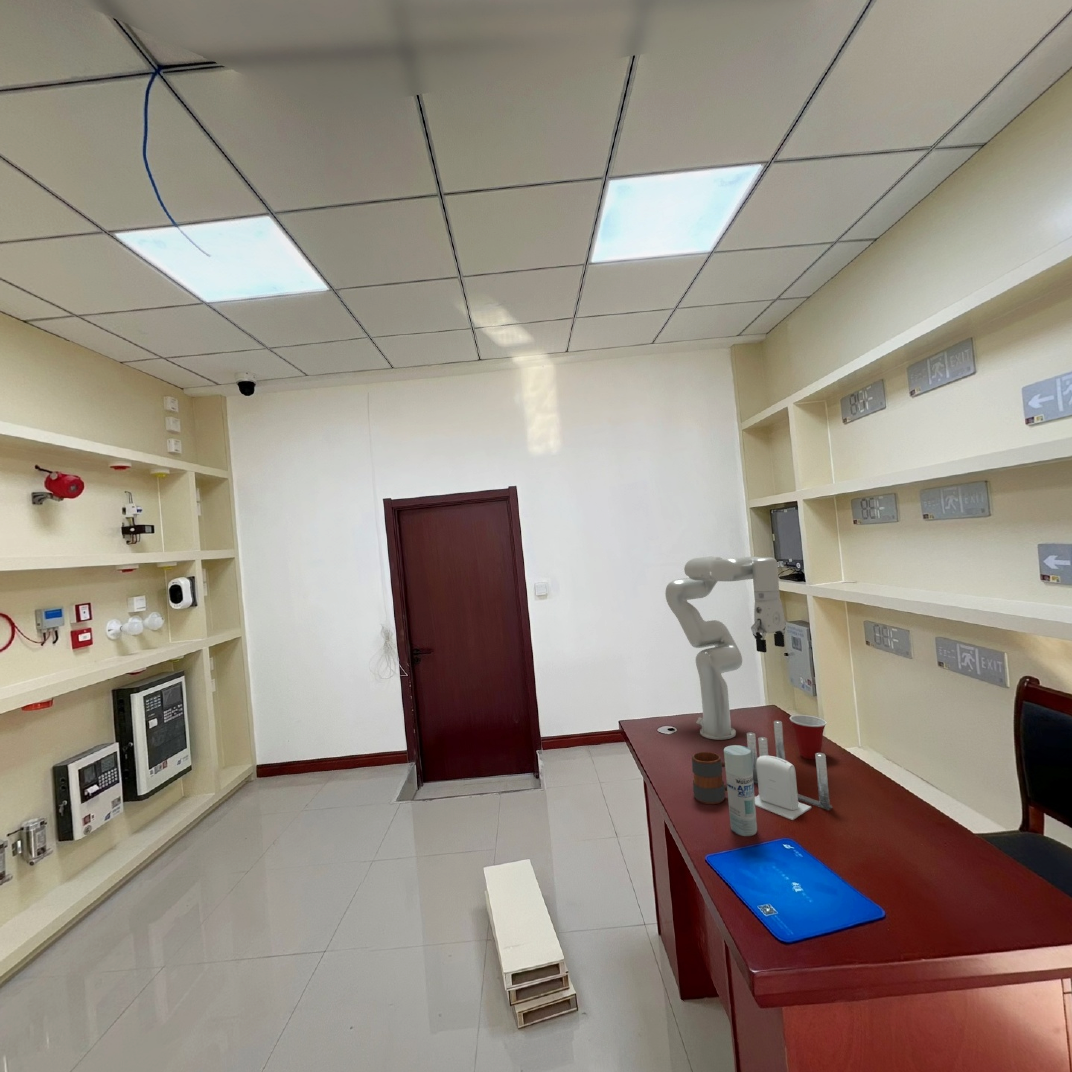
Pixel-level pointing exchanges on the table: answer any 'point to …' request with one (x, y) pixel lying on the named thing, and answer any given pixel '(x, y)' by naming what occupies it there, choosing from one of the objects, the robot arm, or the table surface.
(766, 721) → the table surface
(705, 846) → the table surface
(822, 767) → the gate
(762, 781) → the photo printer
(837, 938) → the table surface
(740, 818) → the spray paint can
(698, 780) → the mug
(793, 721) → the plastic cup
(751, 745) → the gate
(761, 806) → the mat
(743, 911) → the table surface
